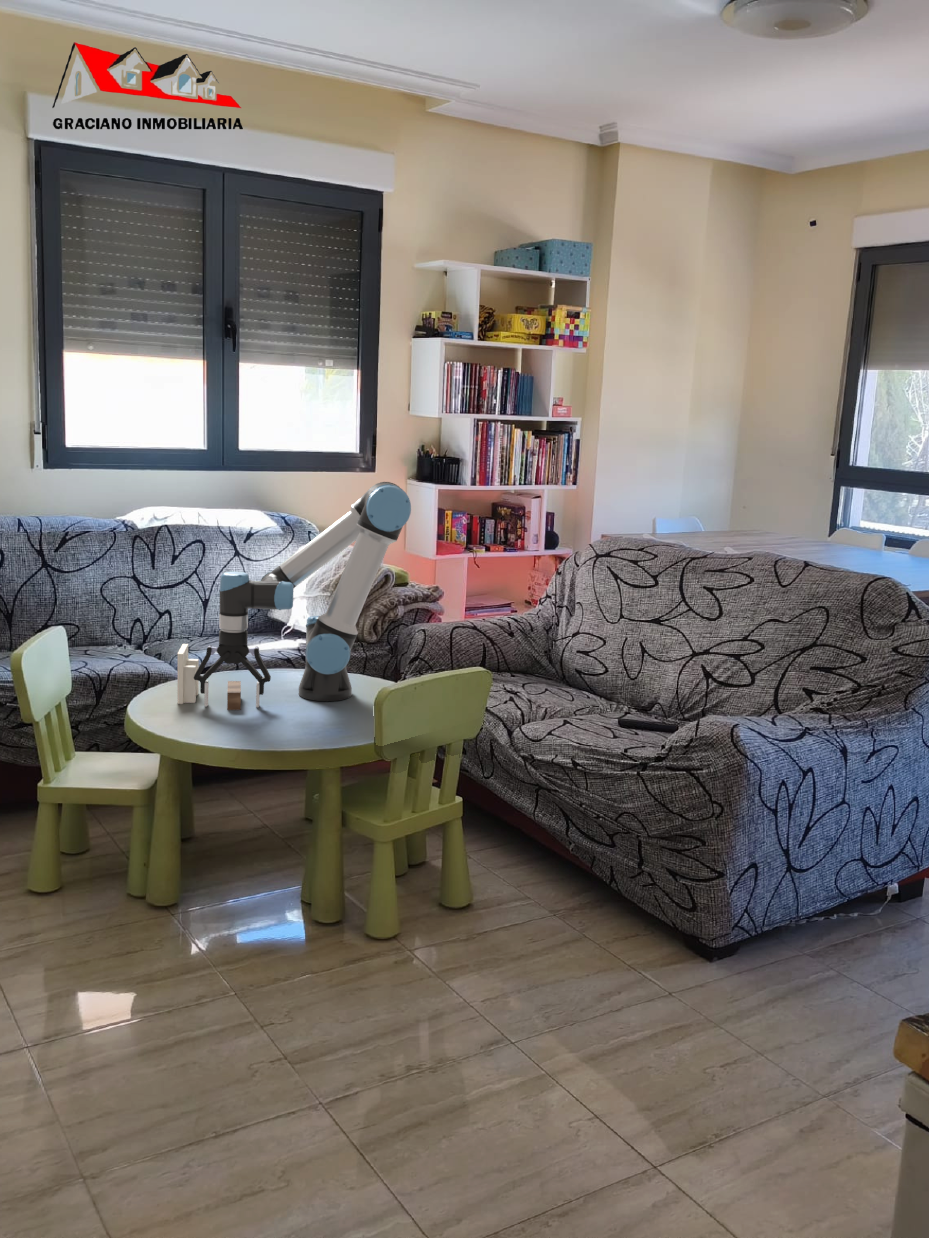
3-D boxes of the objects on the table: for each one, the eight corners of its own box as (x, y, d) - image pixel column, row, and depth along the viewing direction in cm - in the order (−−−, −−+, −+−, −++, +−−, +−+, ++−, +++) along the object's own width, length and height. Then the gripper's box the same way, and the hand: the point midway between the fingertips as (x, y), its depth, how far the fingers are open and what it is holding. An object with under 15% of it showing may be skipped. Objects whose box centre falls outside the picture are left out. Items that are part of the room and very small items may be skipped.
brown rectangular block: (227, 698, 305) (227, 681, 304) (240, 698, 306) (240, 681, 305) (227, 710, 293) (227, 692, 292) (240, 710, 294) (240, 692, 293)
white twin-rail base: (198, 692, 309) (199, 644, 306) (194, 704, 297) (194, 654, 294) (182, 692, 308) (182, 643, 305) (177, 703, 296) (177, 653, 294)
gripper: (281, 628, 298) (279, 702, 302) (187, 625, 295) (186, 700, 299) (280, 633, 291) (278, 710, 295) (184, 631, 287) (183, 708, 291)
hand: (232, 705), depth 297 cm, fingers open, 13 cm apart
